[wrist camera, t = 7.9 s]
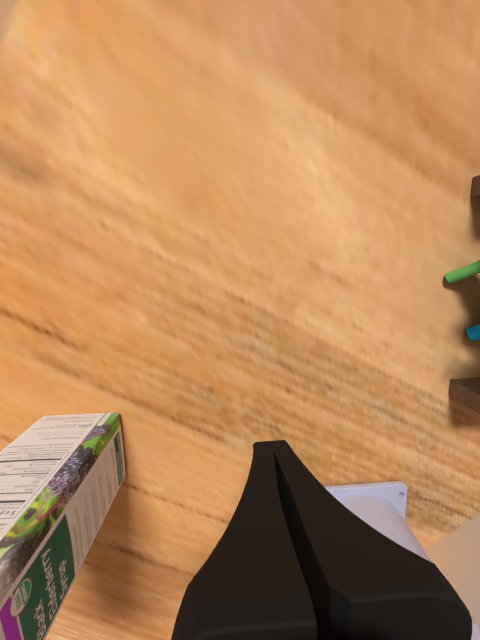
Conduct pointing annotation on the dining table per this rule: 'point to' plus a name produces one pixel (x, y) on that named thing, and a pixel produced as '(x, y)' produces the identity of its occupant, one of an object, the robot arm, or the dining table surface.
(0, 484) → the syrup box
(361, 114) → the dining table surface
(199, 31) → the dining table surface
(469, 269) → the gear
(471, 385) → the frame
